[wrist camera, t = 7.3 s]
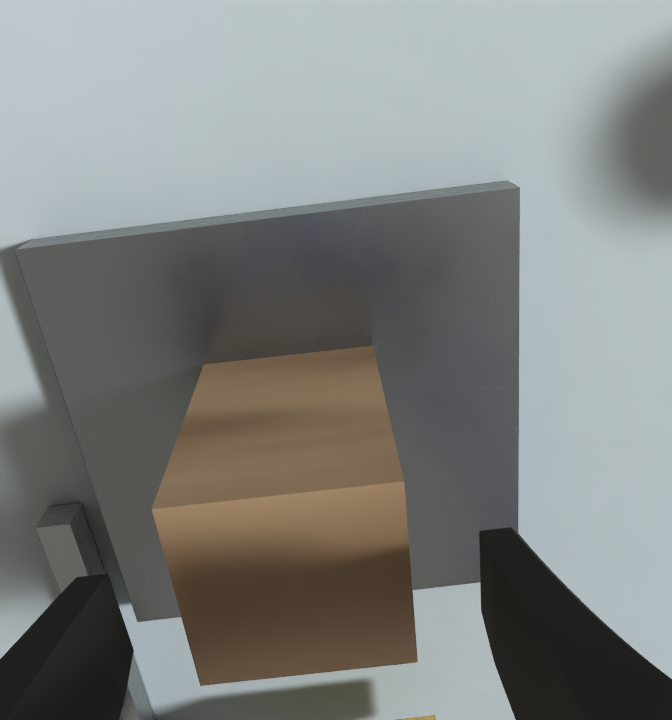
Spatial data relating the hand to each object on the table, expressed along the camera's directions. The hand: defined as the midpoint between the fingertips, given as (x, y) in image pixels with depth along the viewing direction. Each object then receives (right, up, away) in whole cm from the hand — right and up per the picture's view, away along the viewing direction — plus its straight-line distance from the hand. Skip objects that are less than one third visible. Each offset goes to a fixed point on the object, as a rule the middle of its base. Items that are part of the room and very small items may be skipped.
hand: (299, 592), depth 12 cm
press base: (-1, -1, +8) cm, 8 cm away
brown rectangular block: (0, +3, +5) cm, 6 cm away
